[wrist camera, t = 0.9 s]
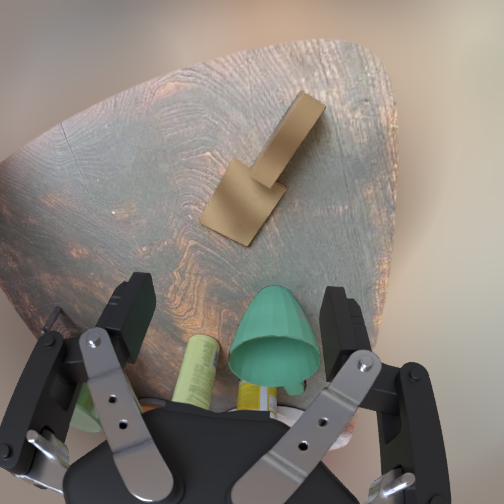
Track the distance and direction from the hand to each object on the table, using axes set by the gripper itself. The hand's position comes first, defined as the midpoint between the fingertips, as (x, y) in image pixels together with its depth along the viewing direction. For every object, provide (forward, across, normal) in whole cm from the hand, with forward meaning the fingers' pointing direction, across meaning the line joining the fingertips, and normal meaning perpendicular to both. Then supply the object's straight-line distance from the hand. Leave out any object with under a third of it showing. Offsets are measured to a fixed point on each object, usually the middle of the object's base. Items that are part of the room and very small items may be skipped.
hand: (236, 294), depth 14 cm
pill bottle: (+19, -2, +37) cm, 41 cm away
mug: (+19, -4, +20) cm, 28 cm away
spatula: (+18, -1, 0) cm, 18 cm away
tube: (+19, +6, +28) cm, 34 cm away
